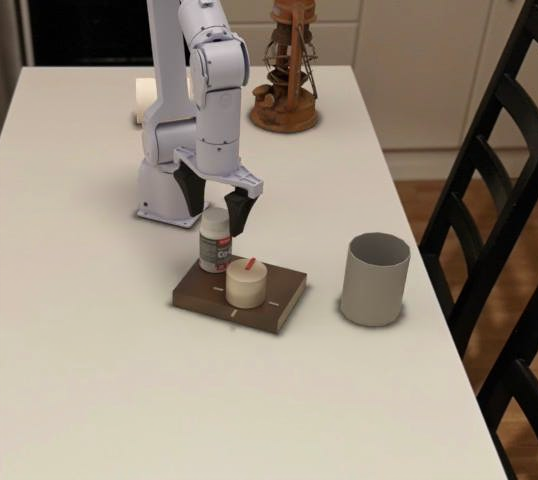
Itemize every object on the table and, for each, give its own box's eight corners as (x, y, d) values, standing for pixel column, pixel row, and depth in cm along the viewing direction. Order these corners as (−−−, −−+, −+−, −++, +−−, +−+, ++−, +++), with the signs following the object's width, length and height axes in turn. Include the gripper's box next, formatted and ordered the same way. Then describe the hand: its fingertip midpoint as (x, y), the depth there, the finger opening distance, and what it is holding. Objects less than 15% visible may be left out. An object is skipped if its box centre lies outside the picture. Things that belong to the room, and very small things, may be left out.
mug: (190, 130, 170) (190, 88, 164) (137, 131, 170) (135, 89, 164) (189, 101, 179) (188, 61, 173) (137, 102, 178) (136, 61, 173)
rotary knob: (257, 312, 126) (258, 284, 122) (219, 302, 127) (220, 274, 124) (271, 290, 129) (273, 262, 126) (234, 281, 131) (235, 253, 128)
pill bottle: (221, 277, 132) (223, 227, 126) (193, 268, 134) (193, 218, 128) (237, 260, 135) (239, 211, 129) (209, 252, 136) (209, 202, 131)
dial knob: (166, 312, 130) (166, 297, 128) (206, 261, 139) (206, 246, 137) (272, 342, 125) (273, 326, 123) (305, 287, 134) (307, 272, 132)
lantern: (244, 98, 179) (251, -68, 159) (310, 96, 180) (325, -70, 159) (255, 139, 167) (264, -35, 146) (325, 136, 168) (344, -37, 147)
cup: (404, 297, 132) (415, 238, 125) (394, 331, 127) (405, 271, 120) (346, 286, 134) (355, 227, 127) (334, 319, 129) (342, 259, 122)
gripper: (280, 141, 118) (273, 231, 128) (197, 107, 126) (197, 195, 135) (245, 161, 115) (241, 252, 124) (162, 125, 122) (164, 213, 131)
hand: (216, 224), depth 129 cm, fingers open, 7 cm apart
